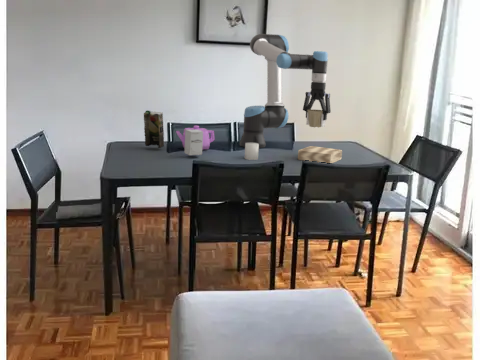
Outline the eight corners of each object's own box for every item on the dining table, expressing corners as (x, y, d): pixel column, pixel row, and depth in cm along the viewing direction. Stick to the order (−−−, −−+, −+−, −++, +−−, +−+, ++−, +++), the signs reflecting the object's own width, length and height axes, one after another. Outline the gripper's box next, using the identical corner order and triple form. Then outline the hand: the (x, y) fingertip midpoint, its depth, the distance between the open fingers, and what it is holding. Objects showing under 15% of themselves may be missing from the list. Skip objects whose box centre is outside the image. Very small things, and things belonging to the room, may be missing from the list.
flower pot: (323, 128, 296) (324, 111, 294) (305, 127, 298) (306, 110, 296) (324, 126, 304) (326, 110, 303) (307, 125, 307) (308, 109, 305)
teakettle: (216, 147, 325) (217, 125, 322) (200, 151, 310) (201, 128, 308) (191, 143, 333) (191, 122, 330) (174, 147, 318) (174, 125, 315)
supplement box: (189, 155, 297) (190, 131, 294) (184, 153, 303) (184, 129, 300) (202, 155, 300) (203, 131, 297) (197, 152, 306) (197, 129, 304)
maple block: (297, 159, 302) (298, 150, 300) (310, 154, 317) (310, 145, 316) (330, 164, 293) (331, 154, 292) (341, 159, 309) (342, 150, 308)
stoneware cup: (241, 158, 296) (242, 143, 295) (249, 156, 302) (250, 141, 300) (252, 160, 292) (253, 145, 291) (260, 159, 298) (261, 143, 296)
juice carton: (159, 112, 307) (164, 110, 313) (142, 110, 310) (148, 109, 316) (160, 148, 313) (165, 146, 319) (144, 146, 316) (149, 144, 322)
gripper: (297, 80, 300) (294, 123, 305) (332, 83, 287) (329, 128, 292) (305, 80, 306) (302, 122, 310) (340, 83, 292) (336, 127, 297)
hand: (315, 125), depth 301 cm, fingers closed on flower pot, 8 cm apart
